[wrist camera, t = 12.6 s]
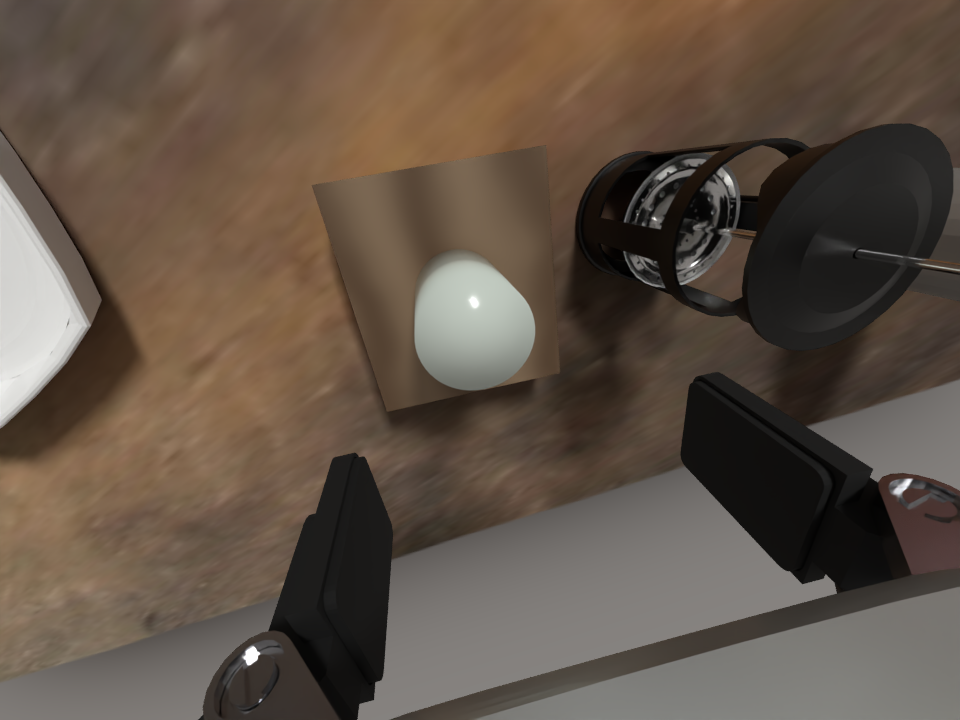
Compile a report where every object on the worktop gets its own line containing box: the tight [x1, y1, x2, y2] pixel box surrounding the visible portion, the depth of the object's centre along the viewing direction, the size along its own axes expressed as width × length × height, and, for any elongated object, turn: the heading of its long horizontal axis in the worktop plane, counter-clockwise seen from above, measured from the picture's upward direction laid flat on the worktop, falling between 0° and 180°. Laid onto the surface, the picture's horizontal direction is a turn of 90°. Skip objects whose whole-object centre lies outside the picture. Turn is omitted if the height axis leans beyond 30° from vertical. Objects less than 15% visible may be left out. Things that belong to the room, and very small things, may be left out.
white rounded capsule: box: [415, 249, 535, 391], centre depth 22 cm, size 6×6×8 cm
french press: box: [576, 124, 960, 351], centre depth 20 cm, size 12×9×23 cm
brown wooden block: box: [312, 145, 560, 412], centre depth 27 cm, size 14×16×5 cm
